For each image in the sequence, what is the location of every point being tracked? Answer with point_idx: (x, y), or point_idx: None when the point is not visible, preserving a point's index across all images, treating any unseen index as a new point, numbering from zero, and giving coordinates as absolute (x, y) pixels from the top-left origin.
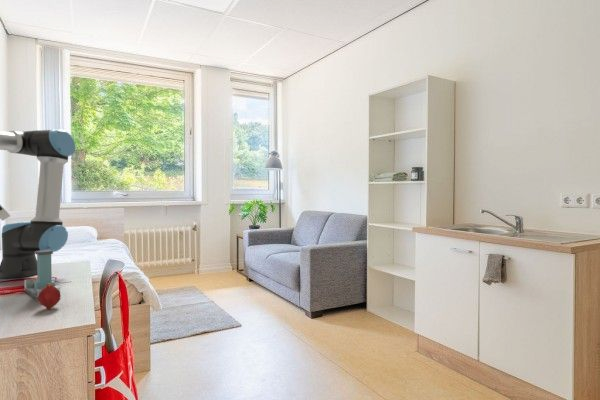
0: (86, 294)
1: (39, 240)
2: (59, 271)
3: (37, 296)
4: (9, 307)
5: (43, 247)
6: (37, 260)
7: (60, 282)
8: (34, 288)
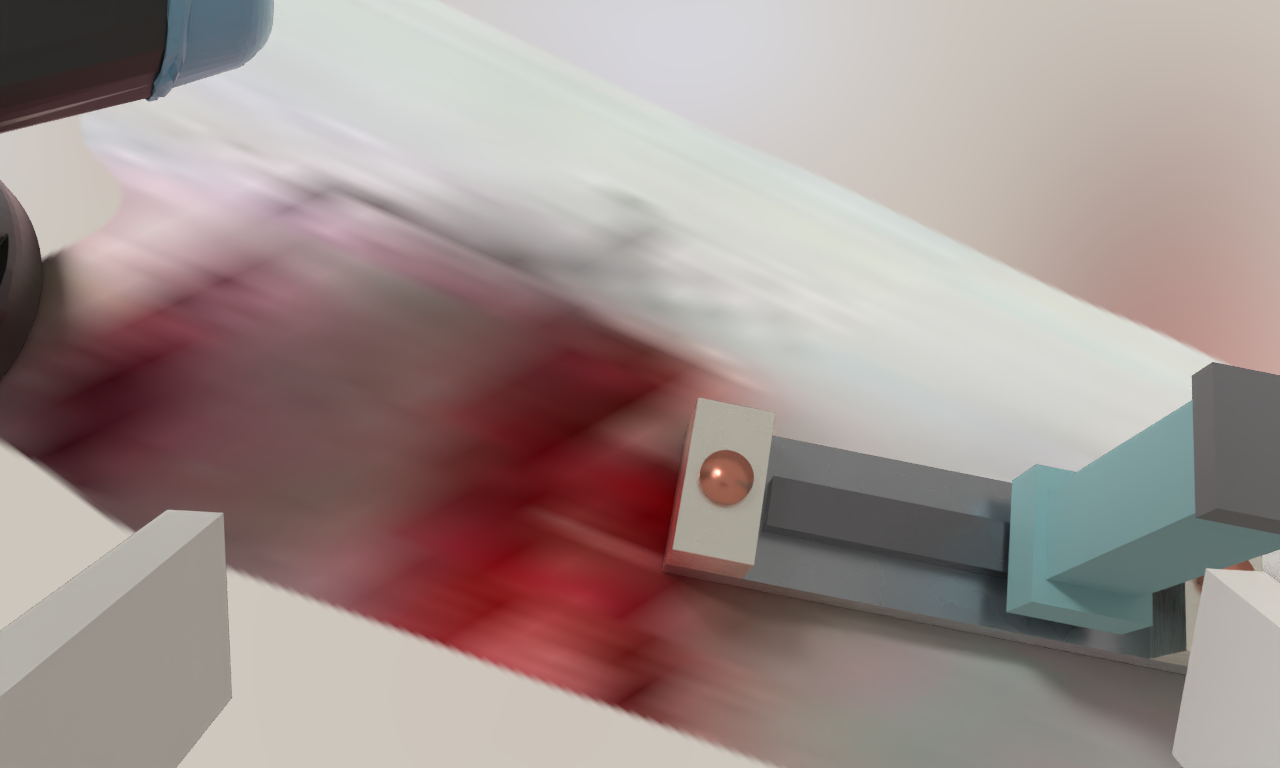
0: (1201, 364)
1: (159, 38)
2: None
3: (1160, 660)
4: None
5: (217, 73)
6: (1179, 530)
7: (597, 267)
8: (1023, 613)
